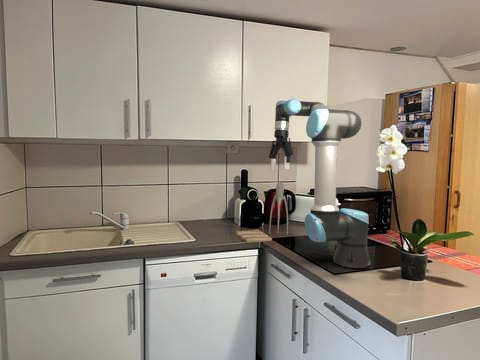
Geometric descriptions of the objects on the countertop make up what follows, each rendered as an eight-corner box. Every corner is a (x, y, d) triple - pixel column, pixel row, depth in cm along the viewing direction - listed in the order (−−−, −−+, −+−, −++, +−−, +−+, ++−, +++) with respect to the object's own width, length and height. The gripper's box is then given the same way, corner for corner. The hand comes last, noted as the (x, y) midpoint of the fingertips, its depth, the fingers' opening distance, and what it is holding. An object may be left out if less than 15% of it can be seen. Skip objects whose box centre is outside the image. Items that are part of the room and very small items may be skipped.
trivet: (271, 240, 182) (271, 238, 182) (246, 242, 177) (246, 239, 177) (258, 232, 199) (258, 229, 199) (235, 233, 194) (235, 231, 194)
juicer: (292, 237, 191) (294, 182, 188) (277, 238, 187) (279, 182, 184) (283, 232, 200) (285, 180, 197) (269, 233, 197) (270, 180, 194)
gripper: (301, 127, 177) (299, 169, 176) (275, 134, 200) (273, 171, 199) (288, 125, 174) (286, 167, 173) (264, 132, 197) (261, 170, 195)
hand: (279, 169), depth 186 cm, fingers open, 13 cm apart
